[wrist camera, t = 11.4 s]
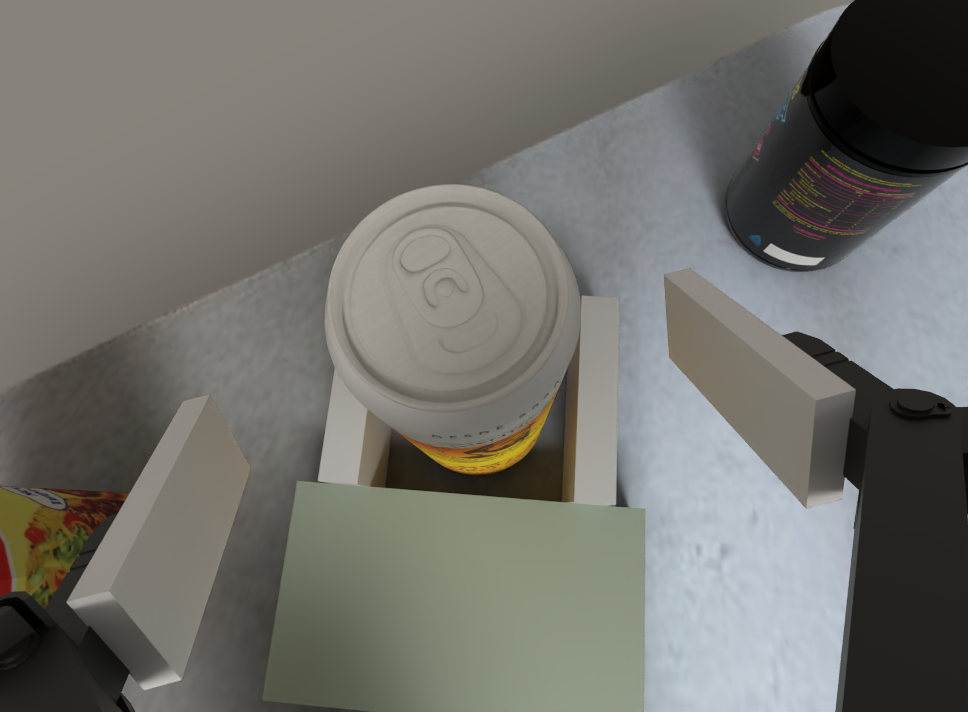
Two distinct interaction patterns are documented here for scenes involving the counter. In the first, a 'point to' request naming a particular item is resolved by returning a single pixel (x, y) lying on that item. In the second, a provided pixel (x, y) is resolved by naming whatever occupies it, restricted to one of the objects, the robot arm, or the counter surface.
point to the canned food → (47, 534)
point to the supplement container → (857, 135)
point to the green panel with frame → (466, 573)
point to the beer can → (454, 323)
